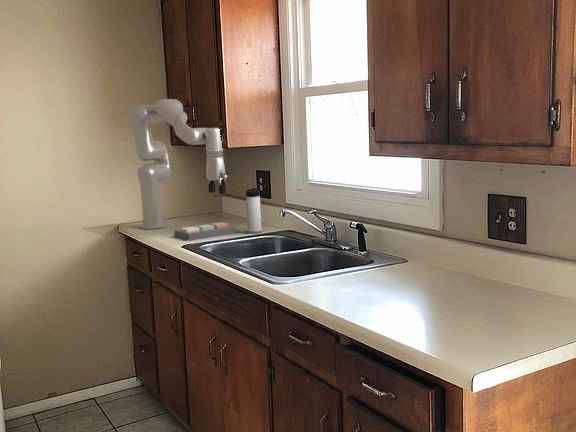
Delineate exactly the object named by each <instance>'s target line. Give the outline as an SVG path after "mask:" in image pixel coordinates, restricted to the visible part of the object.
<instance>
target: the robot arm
mask: <svg viewBox="0 0 576 432" xmlns="http://www.w3.org/2000/svg"><path fill="white" fill-rule="evenodd" d="M129 117H130V118H129V120H130V125H131V128H132V132H133V136H134V141H135V142H134V143H135V148H136V153H137V157H138V159H139V160H140V161H142V162H149V161H150V162H151V163H145V164H142V165H140V167H138V169H137V174H136V175H137V179H138V183H139V187H140V197H141V209H142V223H143V224H141V225H140V229H142V230H155V229H156V230H157V229H161V228H162V229H163V228H166V227H167V223H165V222H164V221H163V220H164V219H163V205H162V192H161V188H160V186H159V185H158V183H161V182H165V181H168V180H169V179H170V177H171V172H172V171H171V164H170V158H169V157H170V156H169V150H168V148H167V146H166V144H165V143H164V142H163V141H161V140H154V139H153V134H152V130H151V128H150V127H149V126H148V123H163V122H167V123H168V124H169V125H171V126H172V127H173V130H174V132H175V134H176V136H177V137H178V138H179V139H180V140H182V141H183V142H184V143H186V144H187V145H190V146H197V145H199V146H200V145H205V149H206V162H205V166H206V167H205V172H206V174H205V176H206V181H207V185H208V193H210V194H212V193H216V192H217V191H216V183H215V182H216V181H217V182H218V184H219V185H218V193H219V195H225V194H226V193H227V186H226V185H227V179H228V175H227V174H226V168H225V167H226V165H225V161H224V147H223V148H222V142H223V140H222V141H221V137H220V136H221V135H220V129H221V128H220V127H194V128H192V127H190V126H189V125H188V124H187V121H188V115H187V113H186V112H185V111H184V106H183V104H182V102H181V101H180V100H178V99H175V98H164V99H162V98H161V99H159V100H157V101H156V102H155V103H154V104H142V105H137V106H136V107H134V108H133V109H132V110H131V113H130V116H129ZM219 128H220V129H219ZM152 161H153V162H152Z"/></svg>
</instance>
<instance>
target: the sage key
mask: <svg viewBox="0 0 576 432" xmlns="http://www.w3.org/2000/svg"><path fill="white" fill-rule="evenodd" d="M195 227H197V228H199V230H208V229H214V226H213V225H210V224H207V223H206V224H201V225H195Z"/></svg>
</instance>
